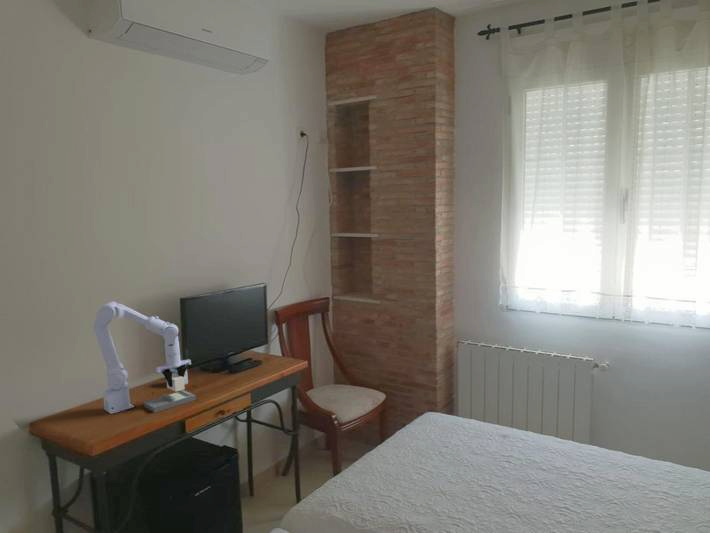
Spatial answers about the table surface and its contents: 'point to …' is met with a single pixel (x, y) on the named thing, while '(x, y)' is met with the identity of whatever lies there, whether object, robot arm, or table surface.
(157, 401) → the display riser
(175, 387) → the cream white block
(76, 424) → the table surface
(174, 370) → the medicine box
